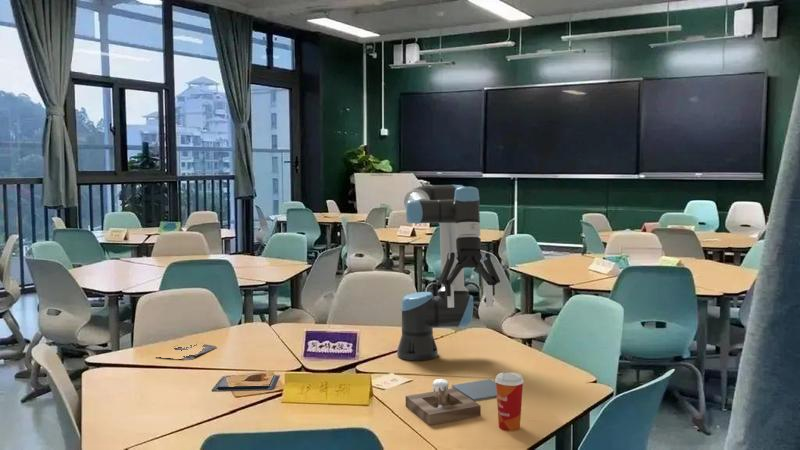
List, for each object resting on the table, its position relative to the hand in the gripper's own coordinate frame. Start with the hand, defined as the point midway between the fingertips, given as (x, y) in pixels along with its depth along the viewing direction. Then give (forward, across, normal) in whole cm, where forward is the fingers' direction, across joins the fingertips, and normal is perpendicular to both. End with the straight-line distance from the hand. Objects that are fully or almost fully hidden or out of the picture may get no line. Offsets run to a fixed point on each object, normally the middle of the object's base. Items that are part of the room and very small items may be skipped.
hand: (470, 307), depth 193 cm
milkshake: (+29, -11, -1) cm, 32 cm away
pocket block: (+29, -11, -1) cm, 31 cm away
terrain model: (+16, -70, +96) cm, 120 cm away
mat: (+26, +8, +8) cm, 28 cm away
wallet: (+24, -57, +49) cm, 79 cm away
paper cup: (+32, -1, -19) cm, 37 cm away
